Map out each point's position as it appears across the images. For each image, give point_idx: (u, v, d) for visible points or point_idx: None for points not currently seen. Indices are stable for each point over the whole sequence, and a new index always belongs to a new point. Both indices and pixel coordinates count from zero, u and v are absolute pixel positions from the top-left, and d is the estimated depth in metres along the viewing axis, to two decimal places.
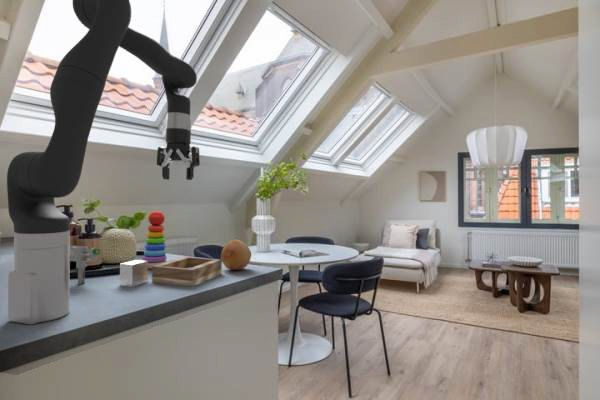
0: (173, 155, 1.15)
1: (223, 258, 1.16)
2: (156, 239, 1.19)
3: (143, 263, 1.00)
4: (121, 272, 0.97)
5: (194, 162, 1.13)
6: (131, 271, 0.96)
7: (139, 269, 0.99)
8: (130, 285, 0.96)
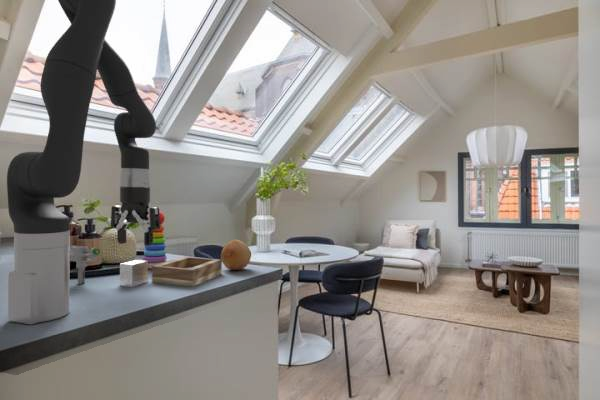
0: (129, 216, 0.99)
1: (223, 258, 1.16)
2: (156, 239, 1.19)
3: (143, 263, 1.00)
4: (121, 272, 0.97)
5: (153, 226, 0.96)
6: (131, 271, 0.96)
7: (139, 269, 0.99)
8: (130, 285, 0.96)
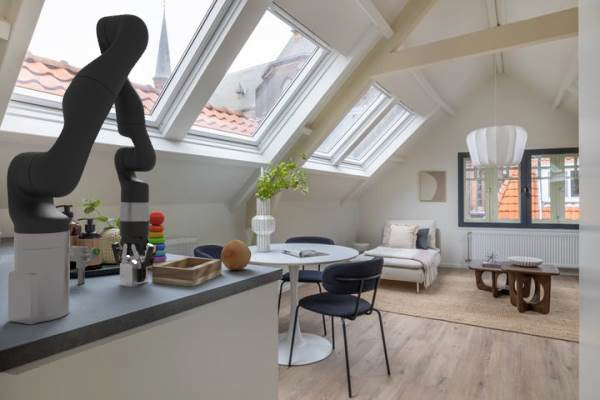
0: (130, 249, 0.99)
1: (223, 258, 1.16)
2: (156, 239, 1.19)
3: None
4: (121, 272, 0.97)
5: (145, 263, 0.97)
6: (131, 271, 0.96)
7: None
8: (130, 284, 0.96)
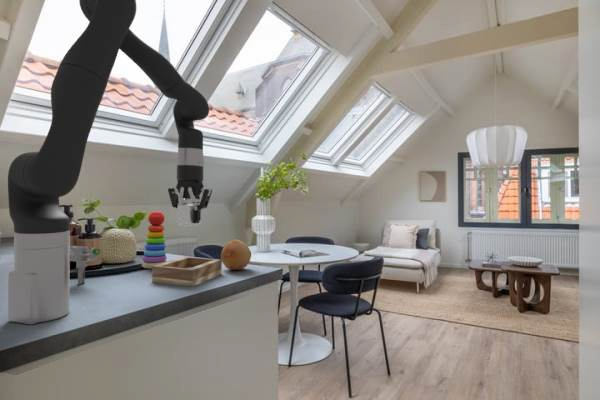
0: (186, 193, 1.06)
1: (223, 258, 1.16)
2: (156, 239, 1.19)
3: None
4: (179, 213, 1.05)
5: (201, 205, 1.04)
6: (188, 212, 1.04)
7: None
8: (187, 224, 1.04)
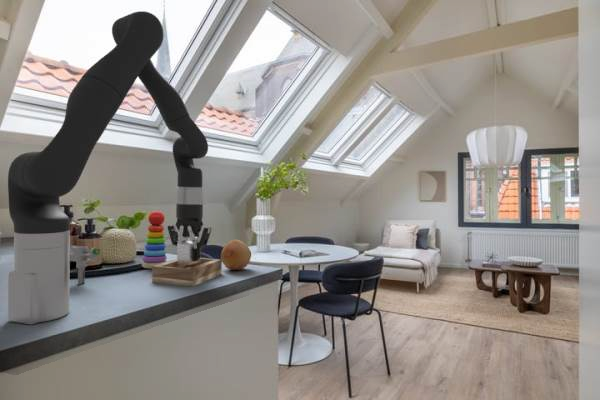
0: (185, 231, 1.06)
1: (223, 258, 1.16)
2: (156, 239, 1.19)
3: None
4: (178, 251, 1.05)
5: (201, 243, 1.05)
6: (188, 250, 1.04)
7: None
8: (187, 263, 1.04)
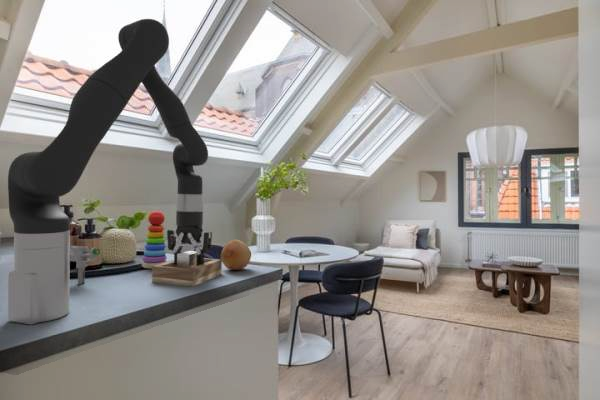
0: (184, 238, 1.06)
1: (223, 258, 1.16)
2: (156, 239, 1.19)
3: None
4: (178, 262, 1.05)
5: (205, 249, 1.04)
6: (187, 261, 1.04)
7: (194, 259, 1.07)
8: None
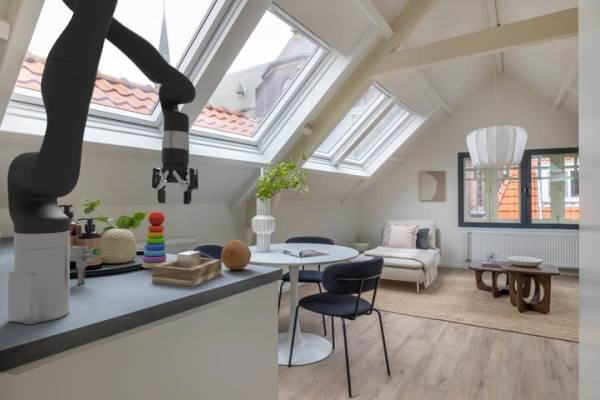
0: (169, 177, 1.05)
1: (223, 258, 1.16)
2: (156, 239, 1.19)
3: (197, 253, 1.08)
4: (178, 262, 1.05)
5: (192, 185, 1.03)
6: (187, 261, 1.04)
7: (194, 259, 1.07)
8: None
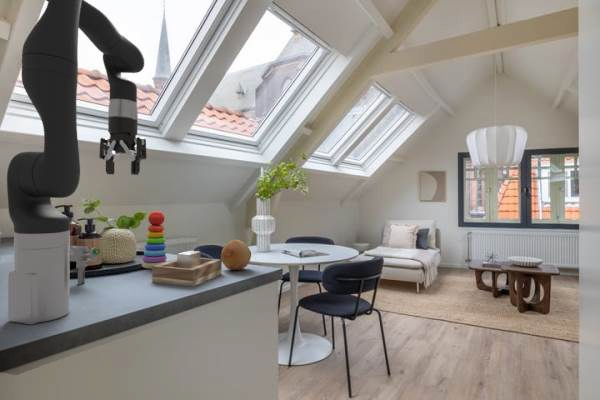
0: (117, 147, 1.03)
1: (223, 258, 1.16)
2: (156, 239, 1.19)
3: (197, 253, 1.08)
4: (178, 262, 1.05)
5: (139, 155, 1.01)
6: (187, 261, 1.04)
7: (194, 259, 1.07)
8: None
